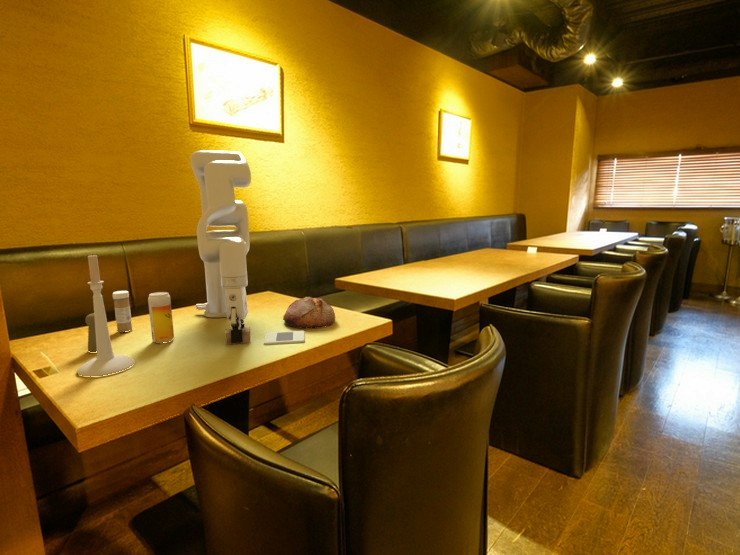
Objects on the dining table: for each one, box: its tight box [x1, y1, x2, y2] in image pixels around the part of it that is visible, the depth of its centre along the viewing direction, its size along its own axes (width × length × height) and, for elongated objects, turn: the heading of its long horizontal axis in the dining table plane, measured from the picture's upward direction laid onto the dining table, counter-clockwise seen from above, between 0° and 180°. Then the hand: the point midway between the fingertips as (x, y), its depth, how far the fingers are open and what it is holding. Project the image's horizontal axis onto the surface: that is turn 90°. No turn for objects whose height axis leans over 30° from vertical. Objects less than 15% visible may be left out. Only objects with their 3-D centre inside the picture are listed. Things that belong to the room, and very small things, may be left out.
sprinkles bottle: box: [112, 290, 133, 333], centre depth 141 cm, size 5×5×13 cm
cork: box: [85, 312, 108, 352], centre depth 124 cm, size 6×6×11 cm
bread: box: [282, 296, 336, 329], centre depth 150 cm, size 16×20×10 cm
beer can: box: [147, 291, 175, 344], centre depth 131 cm, size 6×6×15 cm
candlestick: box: [76, 254, 136, 377], centre depth 109 cm, size 13×13×30 cm
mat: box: [263, 330, 305, 346], centre depth 133 cm, size 12×10×1 cm
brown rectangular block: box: [224, 326, 251, 345], centre depth 131 cm, size 7×4×4 cm, turn 105°
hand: (238, 338), depth 131 cm, fingers closed on brown rectangular block, 4 cm apart
